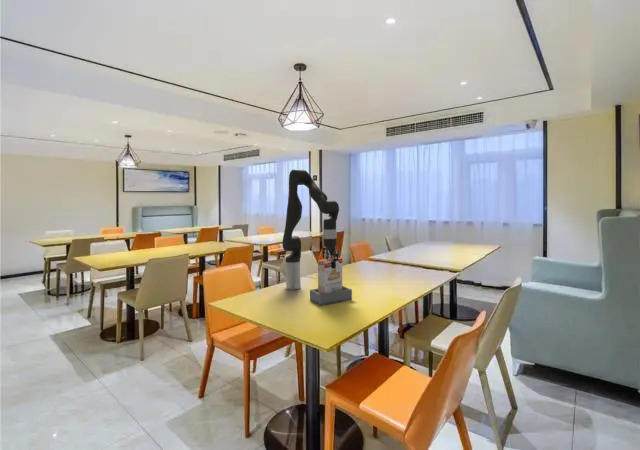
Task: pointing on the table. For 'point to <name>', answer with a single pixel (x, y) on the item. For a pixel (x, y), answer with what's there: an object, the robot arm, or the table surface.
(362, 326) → the table surface
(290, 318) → the table surface
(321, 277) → the cracker box
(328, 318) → the table surface
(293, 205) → the robot arm
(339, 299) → the bin
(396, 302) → the table surface
